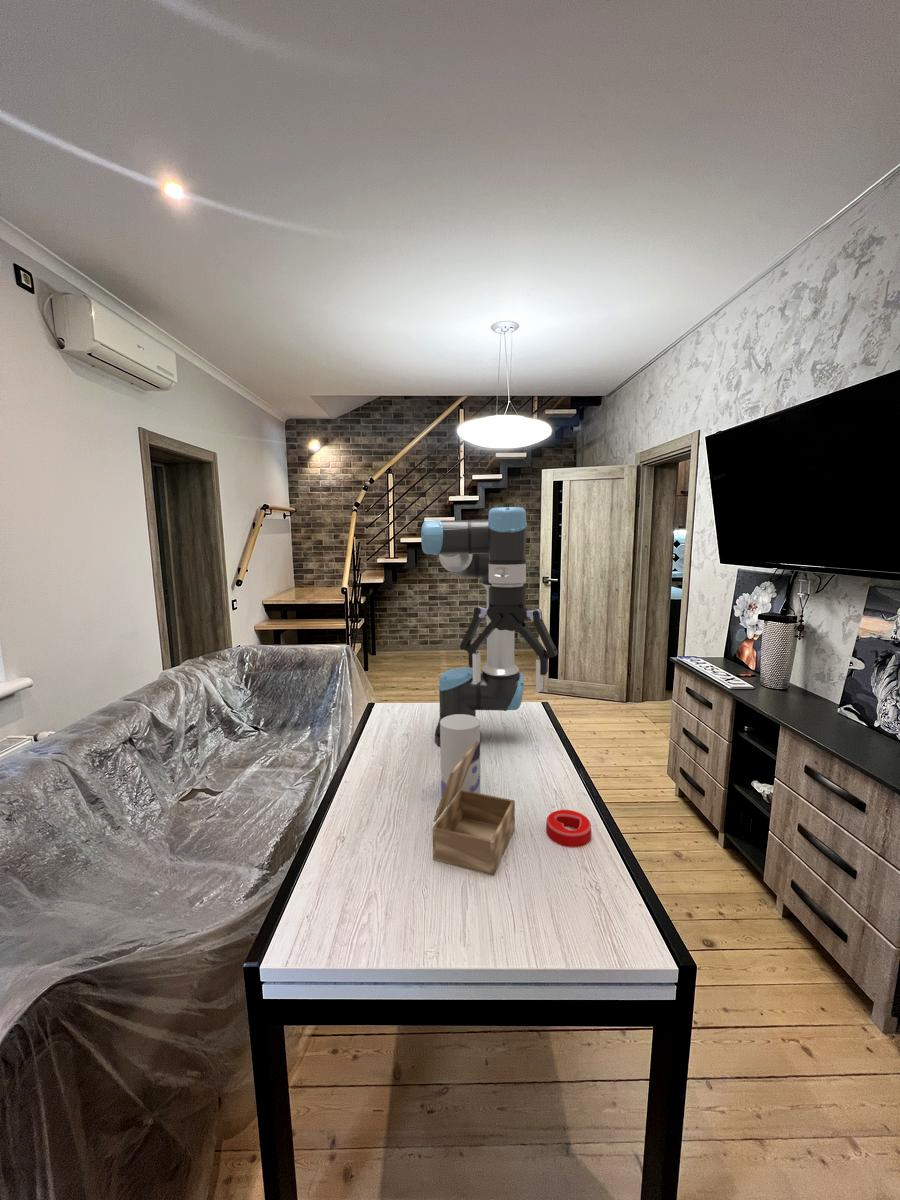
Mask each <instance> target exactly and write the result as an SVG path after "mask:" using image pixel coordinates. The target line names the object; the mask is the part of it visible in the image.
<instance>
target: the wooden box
mask: <svg viewBox="0 0 900 1200" xmlns="http://www.w3.org/2000/svg"><path fill="white" fill-rule="evenodd" d="M515 804H516V800H513V799H510V798H504V797H498V796H493V795H489V794H484V793H481V792H480V793H475V792H470V791H465V790H460V791H459V793H458V794H457V795H456V797H455V798H454V799H453V801H452V802H451V803H450V804H448V806H447V807H446V808H445V810H444V811H443V813H442V814H441V815H440V817H439V818H438V819H437V821H436V822H435V824H434V825H433V826H432V830H431V832H432V834H431V835H432V860H433V861H437V862H441V863H444V864H447V865H452V866H455V867H459V868H463V869H467V870H472V871H473V872H478V873H482V874H485V875H489V876H493V877H494V876H495V874H496V871H497V869H498V867H499V865H500V863H501V860H502V858H503V856H504V853H505V851H506V849H507V847H508V845H509V843H510V841H511V838H512V836H513V834H514V833H515V830H516V829H515V828H516V826H515V823H516V822H515V821H516V818H515V817H516V815H515V814H516V813H515V812H516V807H515V806H516V805H515Z"/></svg>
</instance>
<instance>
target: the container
mask: <svg viewBox="0 0 900 1200" xmlns="http://www.w3.org/2000/svg"><path fill="white" fill-rule="evenodd" d="M480 731H481V721H480V719H479V718H478V717H474V716H471V715H465V714H455V715H449V716H446V717H444V718H442V719H441V721H440V746H439V747H440V786H441V788H440V790H441V797H442V795H443V792H444V790H445V787H446V784H447V781H448V779H449V776H450V773H451V771H452V770H453V769H454V768H455V766H456V765H457V764H458V763H459V762H460V760H461V759H462V758H463V757H464V756H465V754H466V753H467V752H468V751H469V750H470V748H471V747H472V746H473V745H474V744H475V742H476V741H478V742H479V743H478V745H477V748H476V751H475V753H474V756H473V759H472V761H471V764H470V766H469V769H468V772H467V774H466V777H465V780H464V782H463V785H462V787H461V788H460V790H465V791H470V792H475V793H480V794H481V742H480ZM460 790H459V791H460ZM459 791H458V792H457V794H458V793H459ZM457 794H456V795H457ZM456 795H455V796H454V798H455V797H456ZM454 798H453V799H454ZM453 799H452V800H451V802H452V801H453ZM451 802H450V803H451ZM450 803H449V804H448V805H450Z"/></svg>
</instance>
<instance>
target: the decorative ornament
mask: <svg viewBox="0 0 900 1200" xmlns="http://www.w3.org/2000/svg"><path fill="white" fill-rule="evenodd" d="M567 828H572V829H567ZM545 831H546V834H547V836H548V838H549V839H550V840H551V841H552V842H554V843H555V844H557V845H559V846H562V847H566V848H580V847H583V846H586V845H587V844H588V843H589V842H590V841H591V839H592V824H591V821H590V820H589V818H588V817H587V816H586V815H584V814H583V813H580V812H578V811H575V810H572V809H571V810H570V809H558V810H555V811H553V812H551V813H549V814H548V816H547V817H546V829H545Z"/></svg>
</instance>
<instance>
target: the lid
mask: <svg viewBox="0 0 900 1200" xmlns="http://www.w3.org/2000/svg"><path fill="white" fill-rule="evenodd" d="M478 743H479V742H478V741H476V742H475V744H474V745H473V746H472V747H471V748H470V750H469V751H468V752H467V753H466V754H465V756H464V757H463V758H462V759H461V760H460V762H459V763H458V764H457V765H456V766H455V768H454V769H453V770H452V771H451V773H450V776H449V779H448V781H447V784H446V787H445V790H444V792H443V795H442V796H441V799H440V801H439V804H438V806H437V807H436V810H435V814H434V816H433V817H434V818H433V820H432V822H434V823H436V822H437V821H438V820H439V818H440V817H441V816H442V814H443V813H444V812H445V810H446V809H447V808H448V806H449V805H450V804H449V803H450V802H451V800H452V799H453V798H454V796H455V795H456V794H457V792H458V791H459V790H460V788H461V787H462V785H463V782H464V780H465V777H466V774H467V772H468V769H469V766H470V764H471V761H472V759H473V756H474V753H475V751H476V748H477V745H478Z"/></svg>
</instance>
